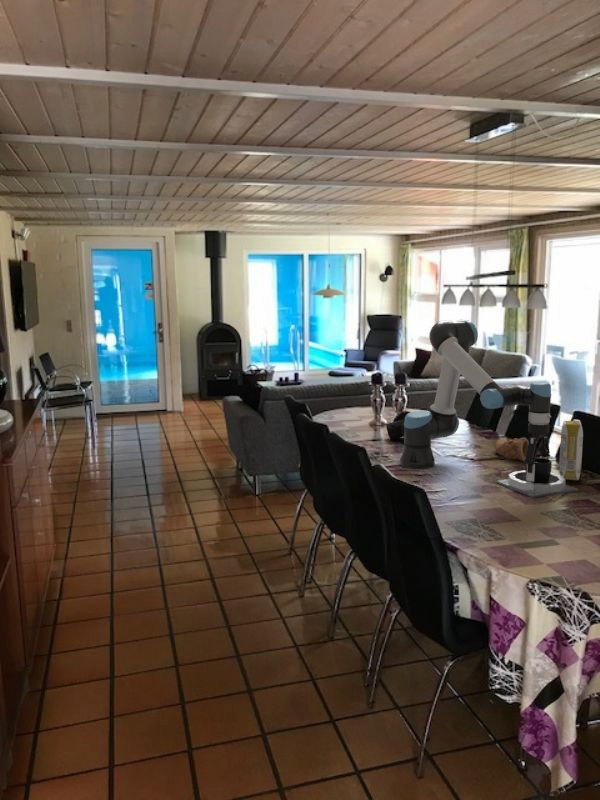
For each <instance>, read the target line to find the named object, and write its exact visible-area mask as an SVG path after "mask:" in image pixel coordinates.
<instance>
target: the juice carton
mask: <svg viewBox="0 0 600 800" xmlns="http://www.w3.org/2000/svg"><path fill="white" fill-rule="evenodd" d="M583 440H584V430H583V426H582V421H581V420H580V419H572V420H563V422H562V426H561V430H560V447H559V473H560V474H559V475H560V476H562V477H563V478H564V479H565V481H567V480H570V481H579V479H580V475H581V474H582V473H581V472H582V462H583V460H582V459H583V458H582V457H583V442H584V441H583Z"/></svg>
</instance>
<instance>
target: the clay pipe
mask: <svg viewBox="0 0 600 800" xmlns="http://www.w3.org/2000/svg"><path fill="white" fill-rule="evenodd" d="M528 444H529V439H527V438H526V437H521V438H516V437H515V438H513V439H511V438H510V439H507V440H506V439H504V438H503V439H501V438H500V439H498V440H496V442H495V444H494V449H495V451H496V453H497V454H498V455H499V456H502V457H505V458H506V459H510V460H512V459H513V461H514V459H515V460H519V461H521V462H525V458H526V454H527V449H528Z"/></svg>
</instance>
